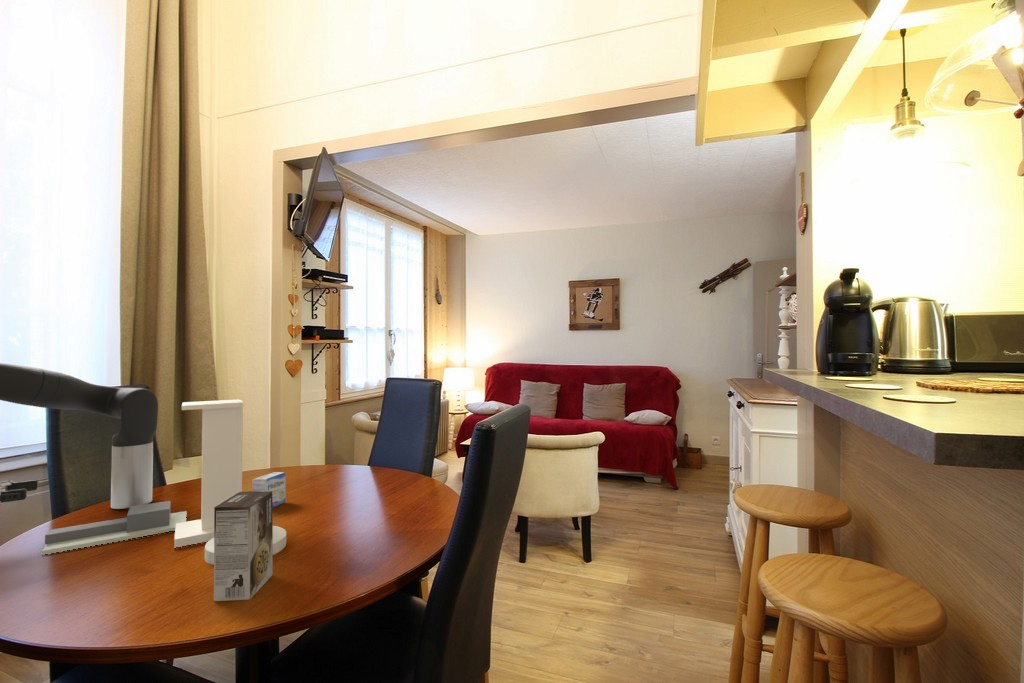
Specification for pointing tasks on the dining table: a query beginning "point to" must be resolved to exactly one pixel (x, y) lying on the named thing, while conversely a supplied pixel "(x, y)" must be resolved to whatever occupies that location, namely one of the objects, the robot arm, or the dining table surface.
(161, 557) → the dining table surface
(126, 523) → the gray flanged block
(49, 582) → the dining table surface
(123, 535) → the mat
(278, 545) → the roll of tape
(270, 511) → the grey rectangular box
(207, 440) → the white flanged bar
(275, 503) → the medicine box
